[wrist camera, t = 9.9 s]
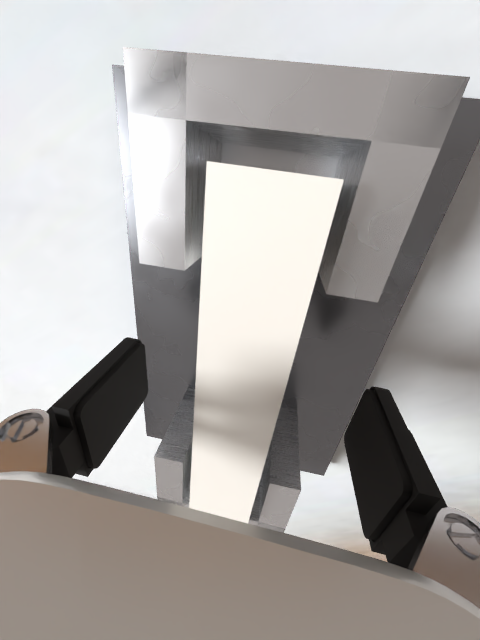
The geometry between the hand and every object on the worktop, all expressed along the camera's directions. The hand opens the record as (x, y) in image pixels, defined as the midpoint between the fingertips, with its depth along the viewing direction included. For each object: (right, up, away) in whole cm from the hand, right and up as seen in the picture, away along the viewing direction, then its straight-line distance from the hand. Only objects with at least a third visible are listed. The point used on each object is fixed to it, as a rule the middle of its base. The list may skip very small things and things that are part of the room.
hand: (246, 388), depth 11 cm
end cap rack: (+1, +3, +5) cm, 5 cm away
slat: (0, +2, +3) cm, 3 cm away
